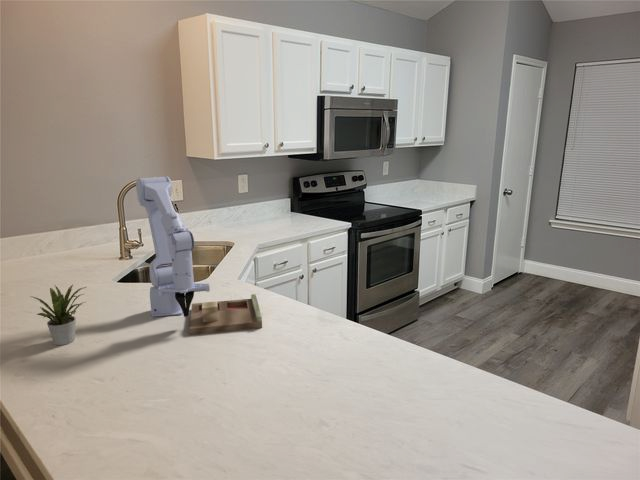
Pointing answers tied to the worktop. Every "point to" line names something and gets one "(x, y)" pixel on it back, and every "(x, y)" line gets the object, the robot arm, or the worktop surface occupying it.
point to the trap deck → (227, 317)
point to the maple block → (209, 311)
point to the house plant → (61, 316)
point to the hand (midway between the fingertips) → (186, 315)
